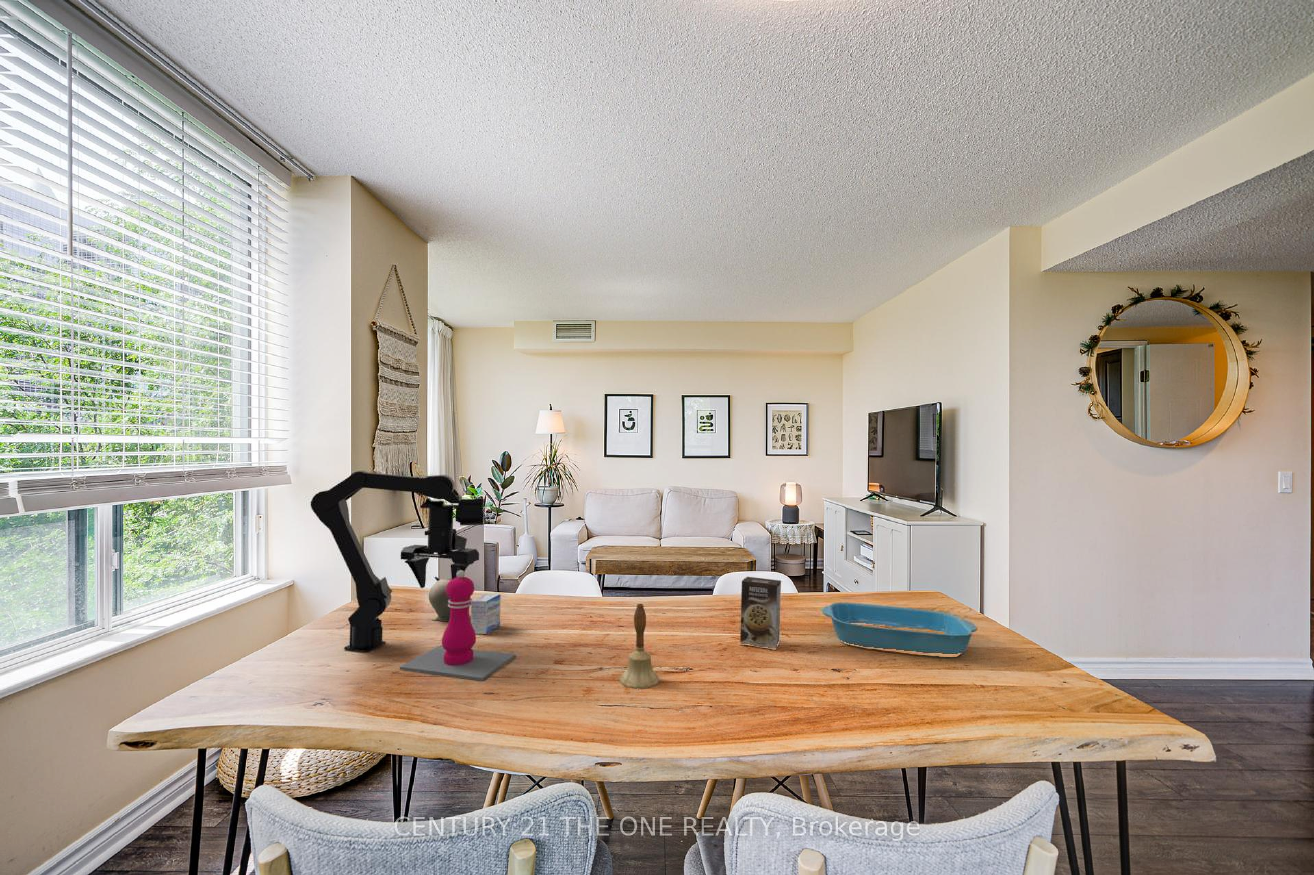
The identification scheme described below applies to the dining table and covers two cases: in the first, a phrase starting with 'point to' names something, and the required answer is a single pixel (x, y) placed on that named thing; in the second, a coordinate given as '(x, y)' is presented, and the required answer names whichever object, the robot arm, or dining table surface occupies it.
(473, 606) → the medicine box
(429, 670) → the place mat
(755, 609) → the coffee box
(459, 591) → the magenta pepper mill
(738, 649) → the dining table surface
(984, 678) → the dining table surface
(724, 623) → the dining table surface
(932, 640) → the casserole dish
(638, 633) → the hand bell
